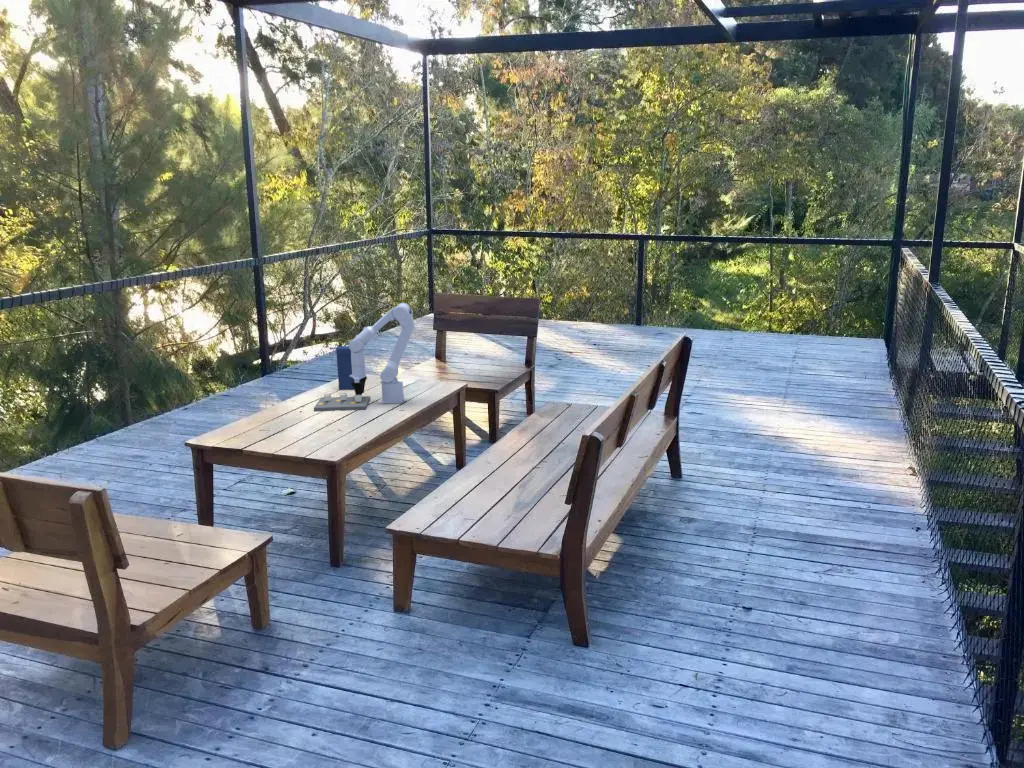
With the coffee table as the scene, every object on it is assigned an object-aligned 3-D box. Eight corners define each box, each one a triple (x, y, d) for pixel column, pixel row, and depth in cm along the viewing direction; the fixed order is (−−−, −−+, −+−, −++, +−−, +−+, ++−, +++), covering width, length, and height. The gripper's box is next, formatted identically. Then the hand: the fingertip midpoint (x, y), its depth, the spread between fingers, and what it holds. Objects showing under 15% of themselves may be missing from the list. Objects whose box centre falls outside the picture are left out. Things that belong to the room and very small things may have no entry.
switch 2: (347, 398, 392) (346, 392, 391) (346, 400, 389) (345, 394, 388) (341, 398, 392) (340, 392, 391) (340, 400, 389) (339, 394, 388)
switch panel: (370, 399, 397) (370, 396, 397) (365, 409, 380) (365, 406, 379) (321, 401, 396) (320, 397, 396) (314, 411, 379) (313, 407, 379)
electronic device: (360, 387, 421) (358, 345, 417) (358, 389, 416) (355, 347, 412) (341, 387, 422) (338, 345, 418) (338, 389, 417) (335, 348, 413)
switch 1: (331, 399, 392) (330, 393, 391) (330, 400, 389) (329, 394, 388) (325, 399, 392) (325, 393, 391) (324, 400, 389) (323, 394, 388)
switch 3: (361, 400, 389) (361, 394, 388) (360, 401, 386) (360, 395, 385) (356, 400, 389) (355, 394, 388) (355, 401, 386) (354, 395, 385)
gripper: (351, 362, 397) (353, 391, 400) (346, 368, 382) (348, 399, 386) (367, 361, 397) (369, 391, 400) (363, 368, 383) (364, 398, 386)
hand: (360, 395), depth 393 cm, fingers open, 7 cm apart
